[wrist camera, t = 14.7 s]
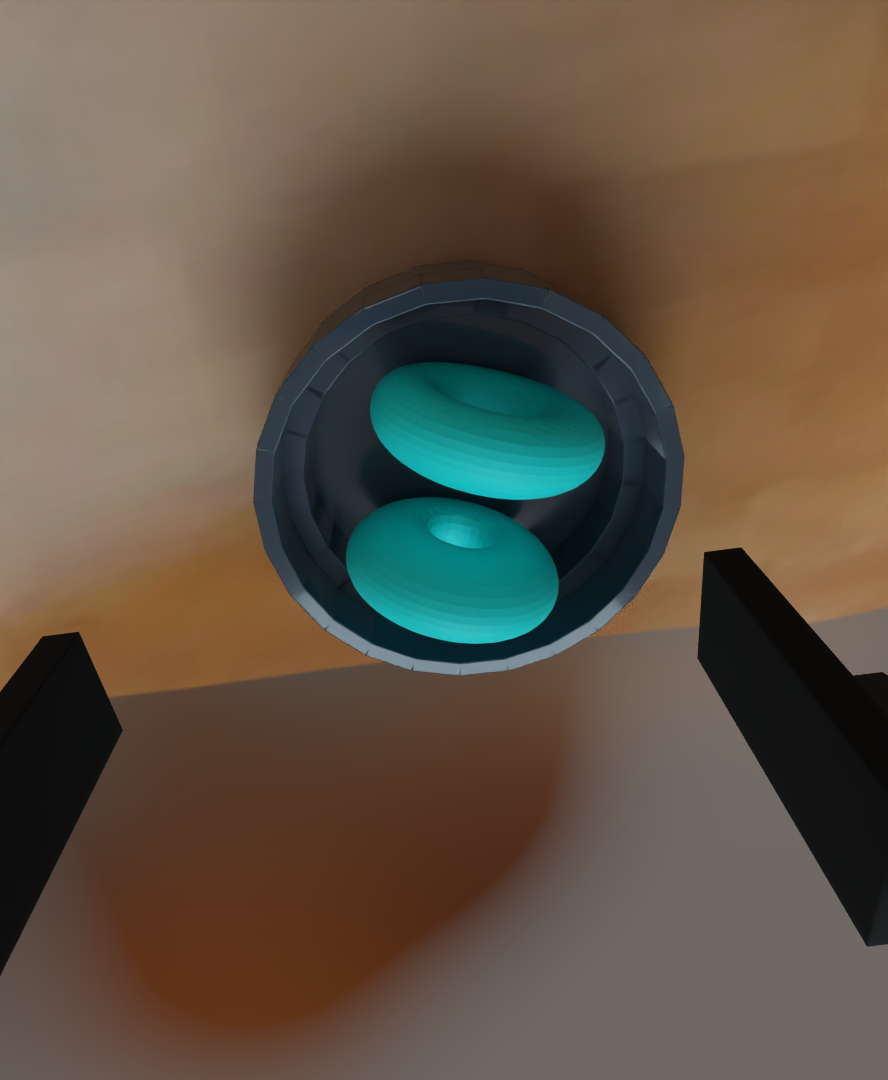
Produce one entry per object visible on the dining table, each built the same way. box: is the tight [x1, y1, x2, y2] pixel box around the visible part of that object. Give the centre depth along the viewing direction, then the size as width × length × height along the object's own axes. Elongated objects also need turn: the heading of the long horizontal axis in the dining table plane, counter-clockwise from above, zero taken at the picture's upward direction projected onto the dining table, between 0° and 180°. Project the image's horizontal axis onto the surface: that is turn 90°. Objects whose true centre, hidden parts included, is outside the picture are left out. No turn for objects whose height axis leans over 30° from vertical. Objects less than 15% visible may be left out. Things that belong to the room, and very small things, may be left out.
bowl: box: [253, 261, 684, 675], centre depth 34 cm, size 19×19×6 cm
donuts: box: [346, 362, 605, 644], centre depth 31 cm, size 10×10×10 cm
